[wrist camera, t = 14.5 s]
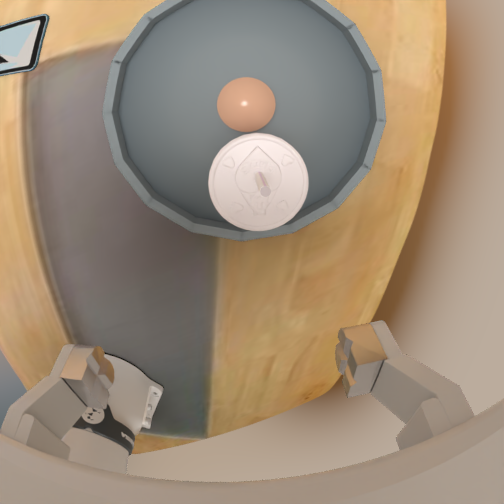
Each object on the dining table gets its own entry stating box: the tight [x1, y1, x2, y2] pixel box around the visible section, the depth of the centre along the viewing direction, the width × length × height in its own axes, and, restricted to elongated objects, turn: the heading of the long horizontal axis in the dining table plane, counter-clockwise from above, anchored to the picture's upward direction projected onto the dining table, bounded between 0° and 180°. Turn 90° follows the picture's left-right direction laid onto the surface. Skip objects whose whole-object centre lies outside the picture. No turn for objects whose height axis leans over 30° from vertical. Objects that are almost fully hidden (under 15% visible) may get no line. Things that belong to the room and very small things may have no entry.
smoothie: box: [208, 133, 309, 231], centre depth 20 cm, size 6×6×14 cm
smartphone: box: [0, 14, 49, 76], centre depth 16 cm, size 7×1×15 cm
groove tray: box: [102, 0, 386, 241], centre depth 23 cm, size 26×26×2 cm
